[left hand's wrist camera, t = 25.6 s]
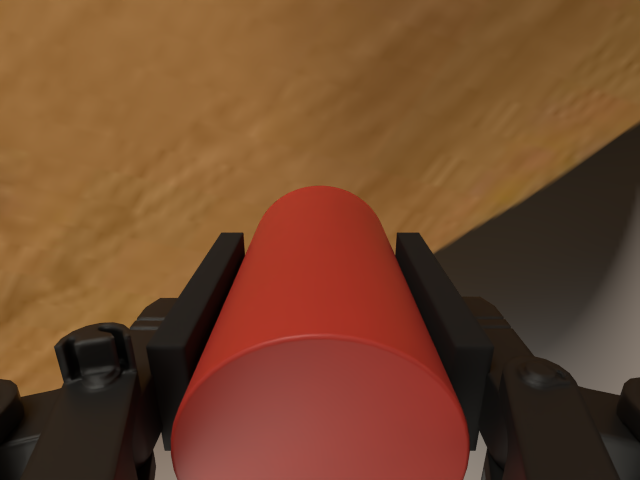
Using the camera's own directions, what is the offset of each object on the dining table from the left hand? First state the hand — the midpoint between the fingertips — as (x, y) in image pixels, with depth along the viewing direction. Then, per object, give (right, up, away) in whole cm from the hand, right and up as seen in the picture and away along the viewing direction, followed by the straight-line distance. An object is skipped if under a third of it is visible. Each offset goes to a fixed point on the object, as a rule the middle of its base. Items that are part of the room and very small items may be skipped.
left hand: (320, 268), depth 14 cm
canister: (0, +1, +2) cm, 2 cm away
